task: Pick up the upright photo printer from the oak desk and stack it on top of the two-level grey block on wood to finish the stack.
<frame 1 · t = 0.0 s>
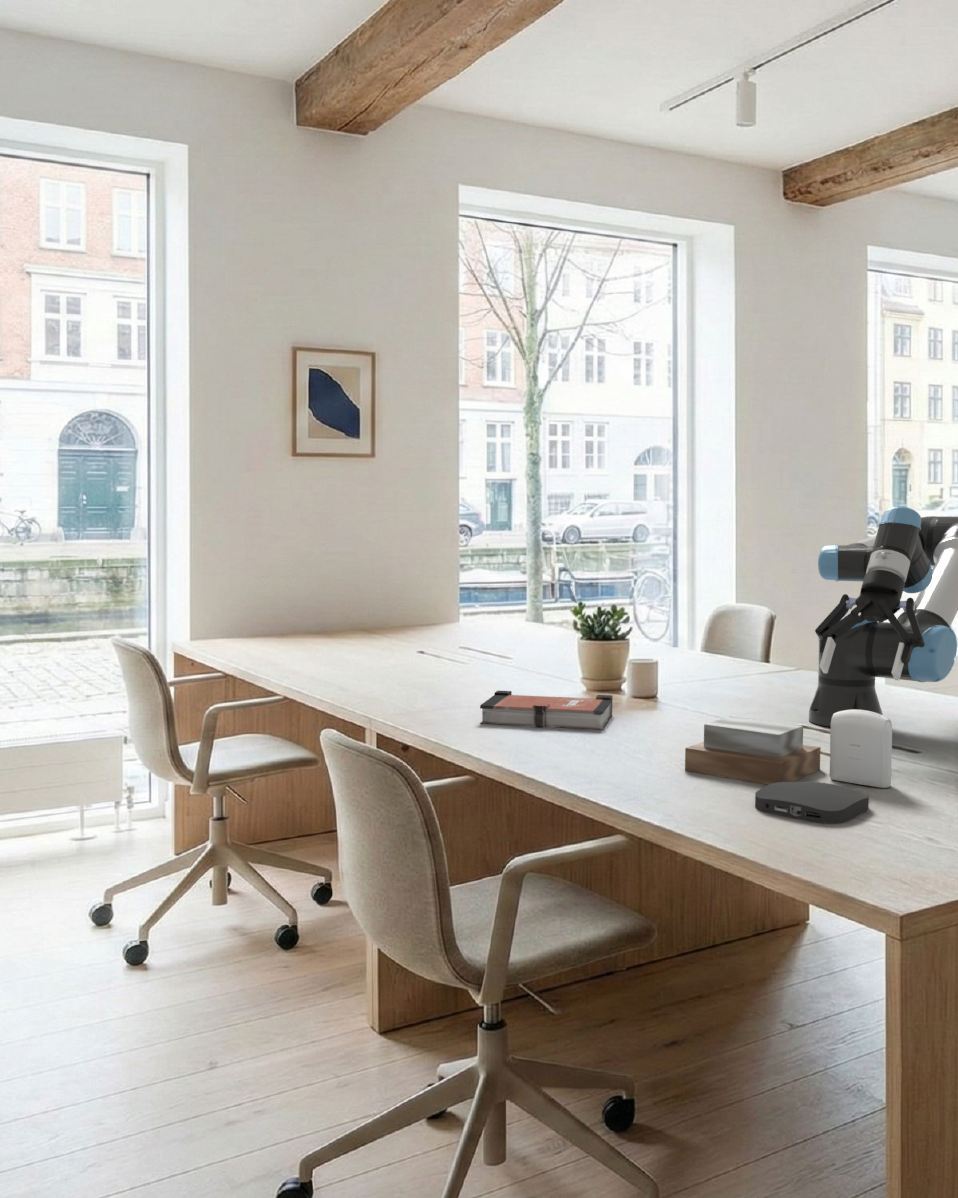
hand: (858, 673, 207), 15 cm above the table, tool tilted 35°, fingers open, 13 cm apart
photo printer: (859, 784, 187), on the table
media streaming box: (811, 811, 171), on the table
book: (547, 723, 242), on the table
grey block on wood: (752, 769, 196), on the table
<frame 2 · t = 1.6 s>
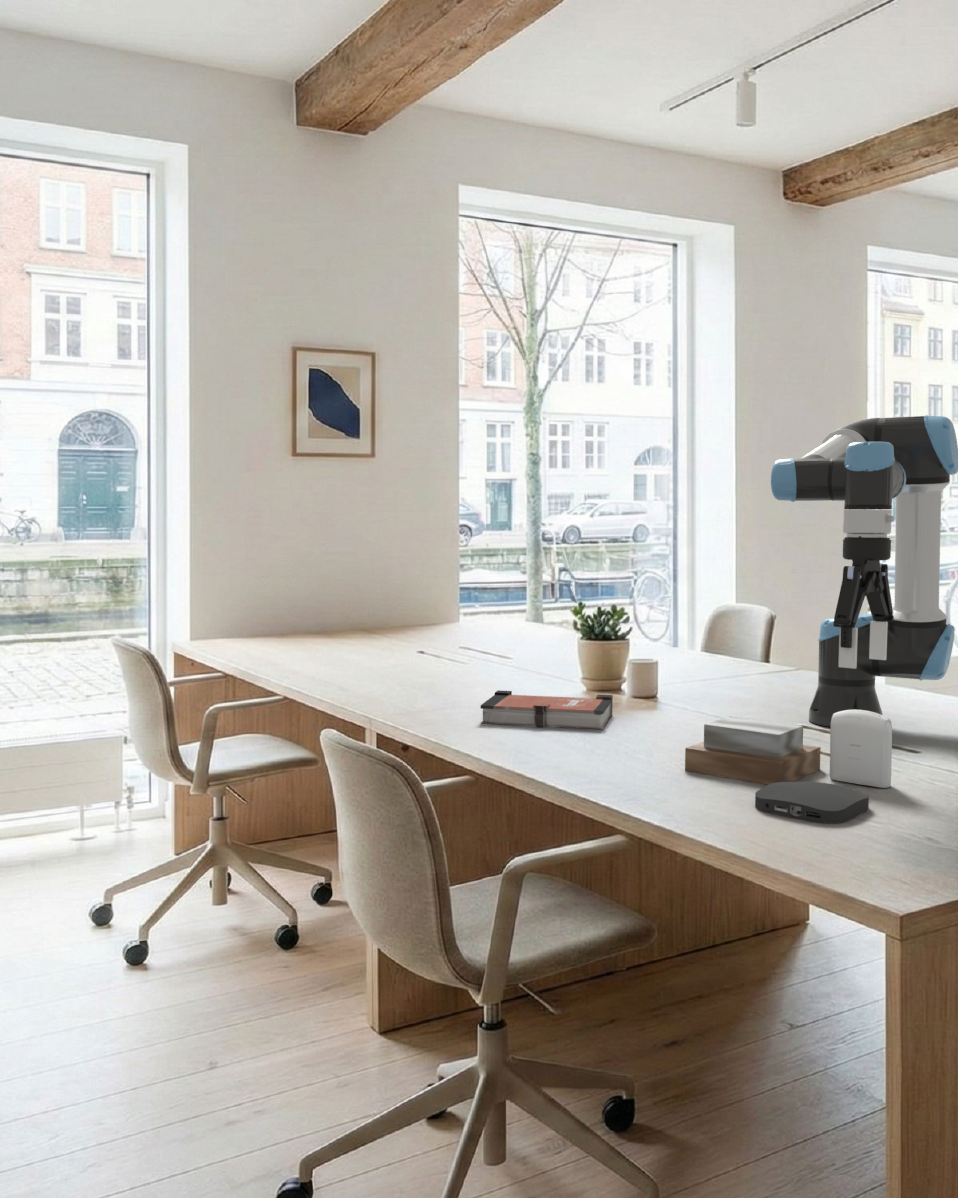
hand: (863, 663, 185), 20 cm above the table, tool pointing down, fingers open, 13 cm apart
nothing on the table moved.
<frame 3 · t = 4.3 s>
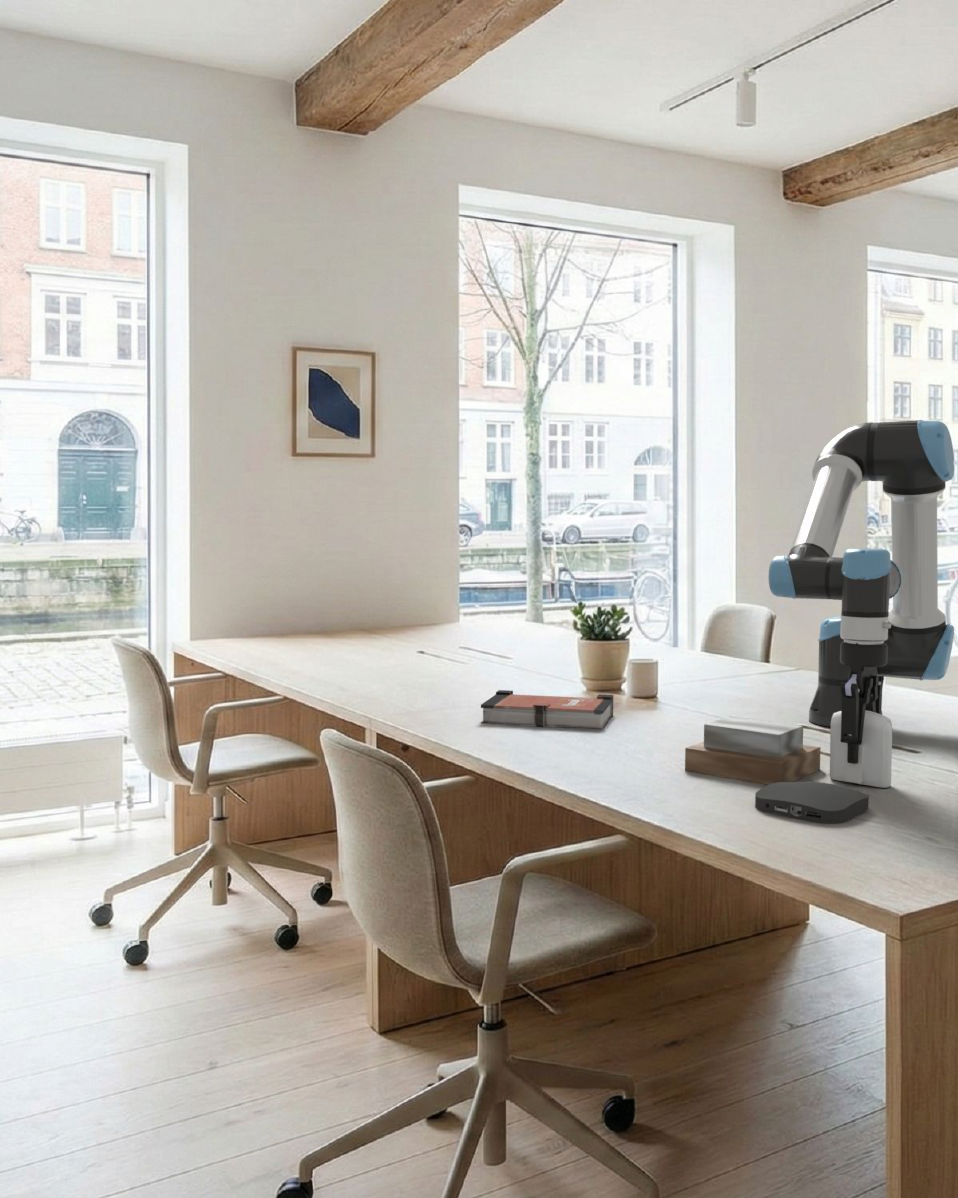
hand: (859, 778, 187), 1 cm above the table, tool pointing down, fingers closed on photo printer, 4 cm apart
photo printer: (859, 784, 187), on the table, touching gripper
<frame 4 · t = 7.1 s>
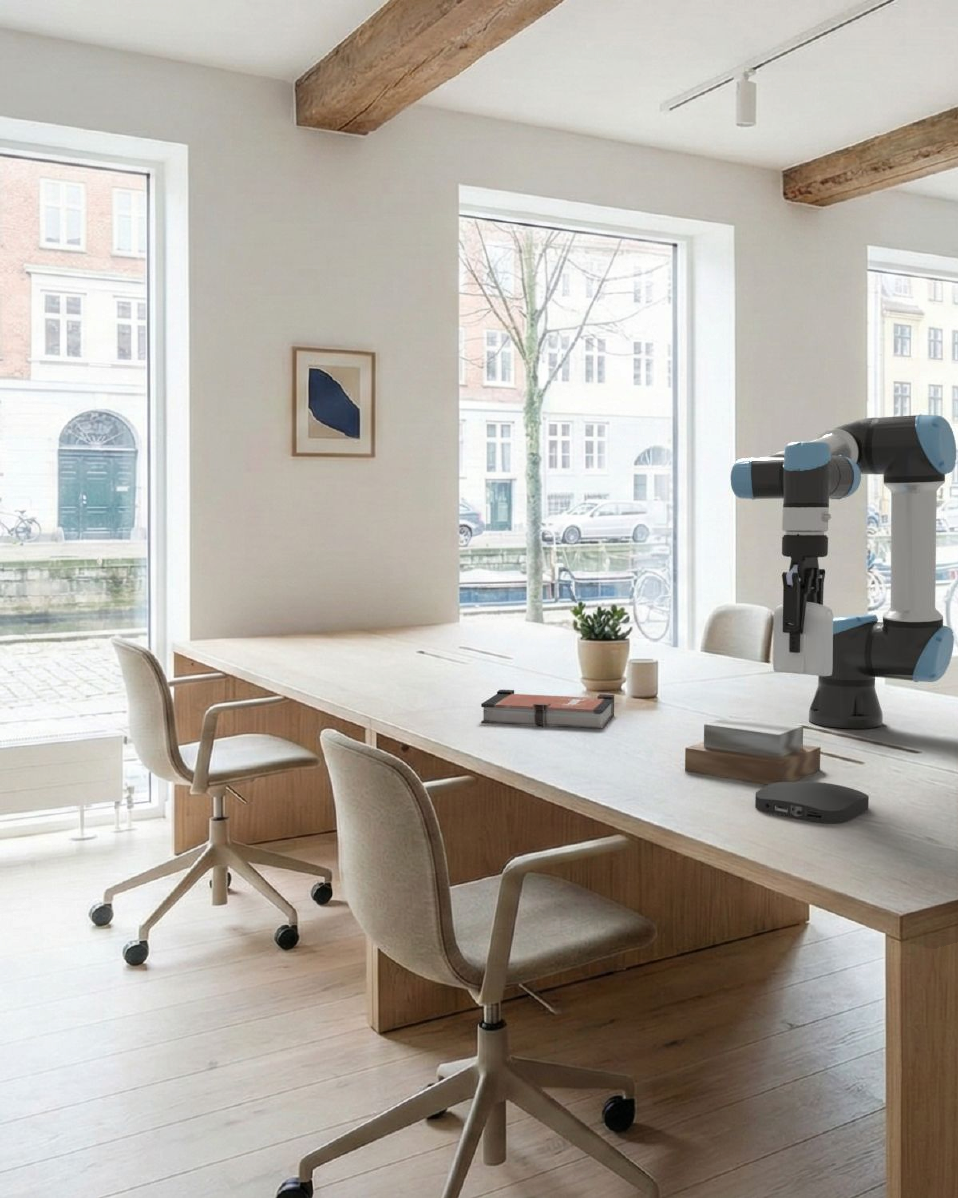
hand: (801, 669, 190), 19 cm above the table, tool pointing down, fingers closed on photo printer, 4 cm apart
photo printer: (802, 674, 190), point 18 cm above the table, touching gripper
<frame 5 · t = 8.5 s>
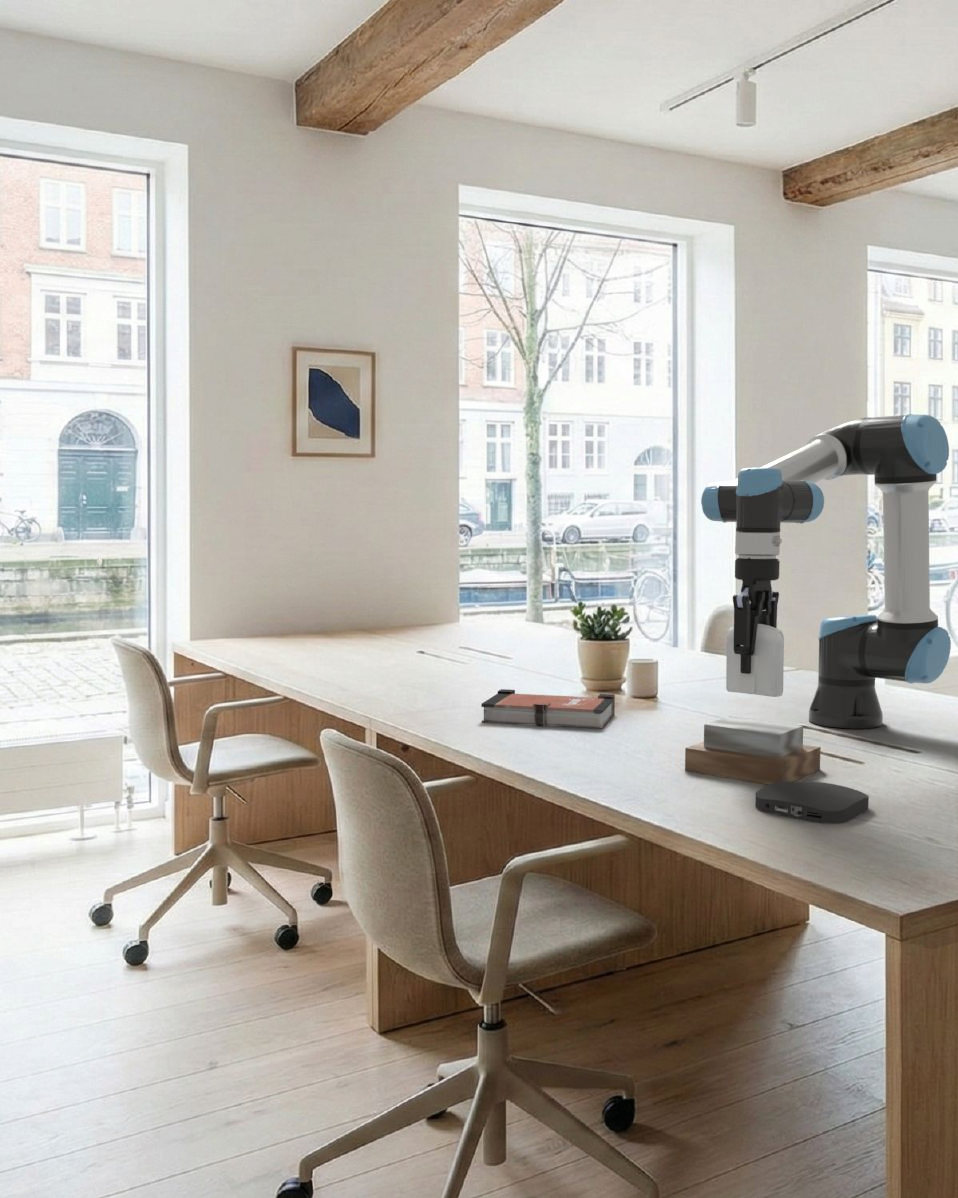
hand: (754, 689, 195), 14 cm above the table, tool pointing down, fingers closed on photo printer, 4 cm apart
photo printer: (754, 695, 195), point 13 cm above the table, touching gripper
when the fingers open (10 cm above the table, at t = 9.8 s): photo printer drops 1 cm, resting on grey block on wood.
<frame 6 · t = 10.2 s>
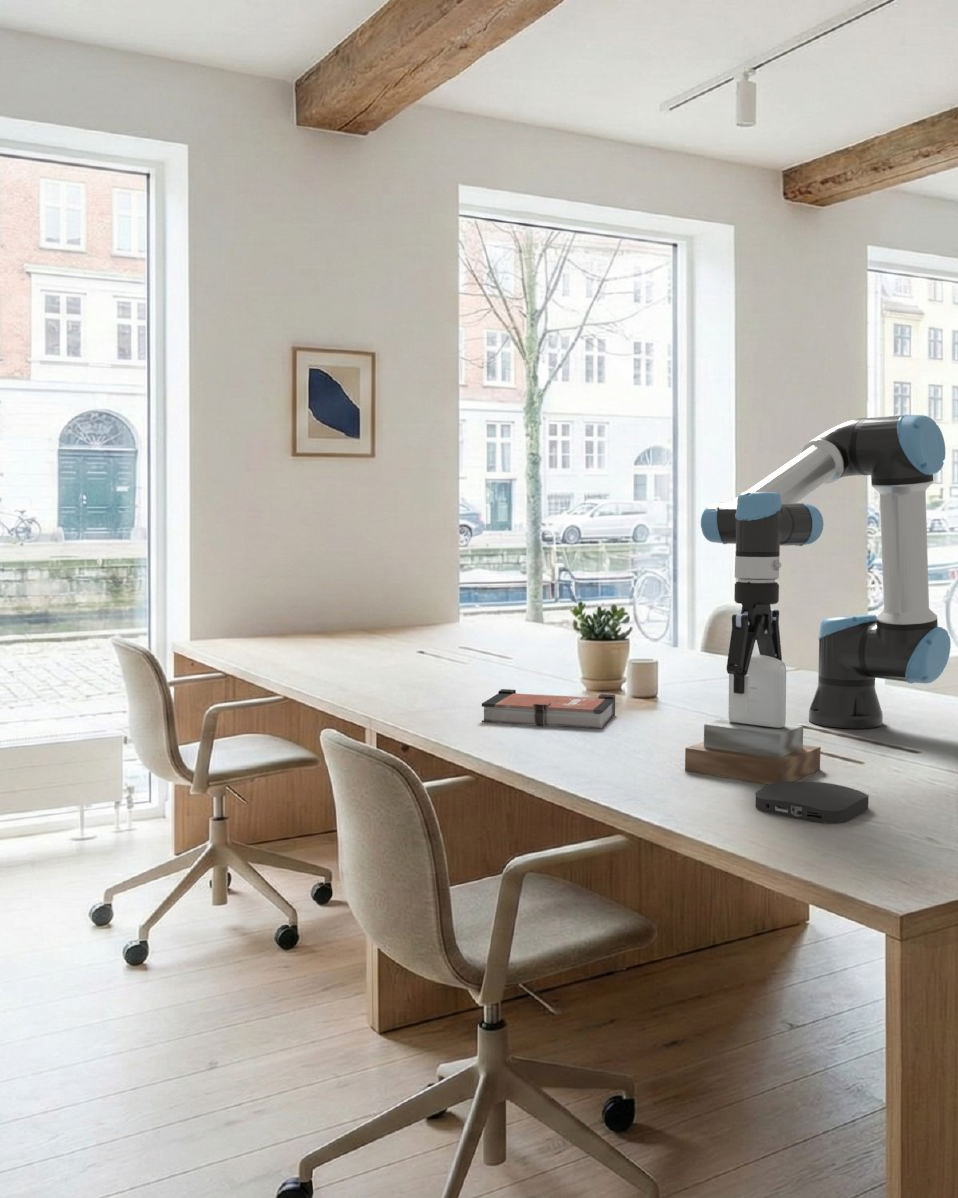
hand: (754, 707, 195), 11 cm above the table, tool pointing down, fingers open, 9 cm apart
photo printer: (756, 725, 196), point 8 cm above the table, touching grey block on wood
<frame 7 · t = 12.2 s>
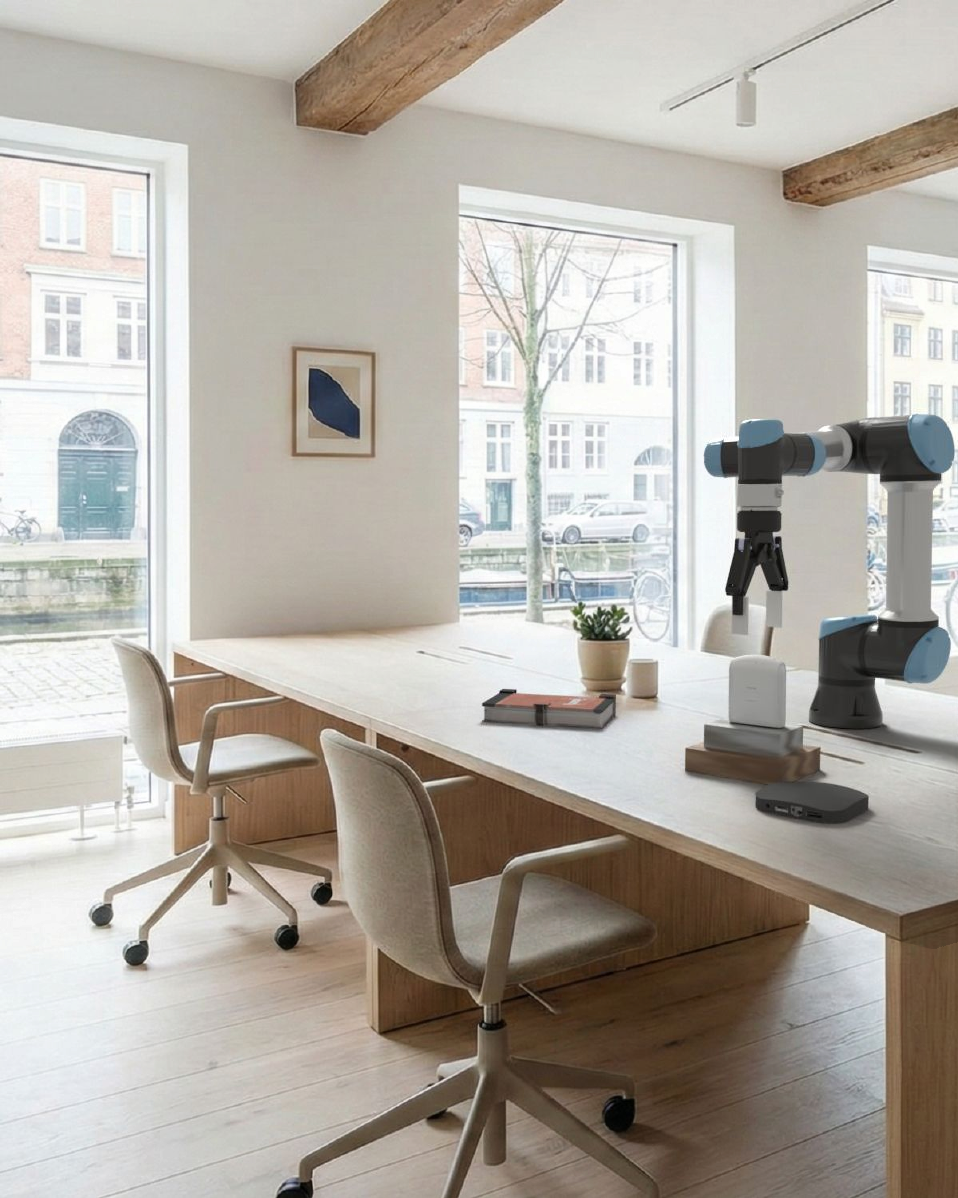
hand: (757, 630, 195), 25 cm above the table, tool pointing down, fingers open, 13 cm apart
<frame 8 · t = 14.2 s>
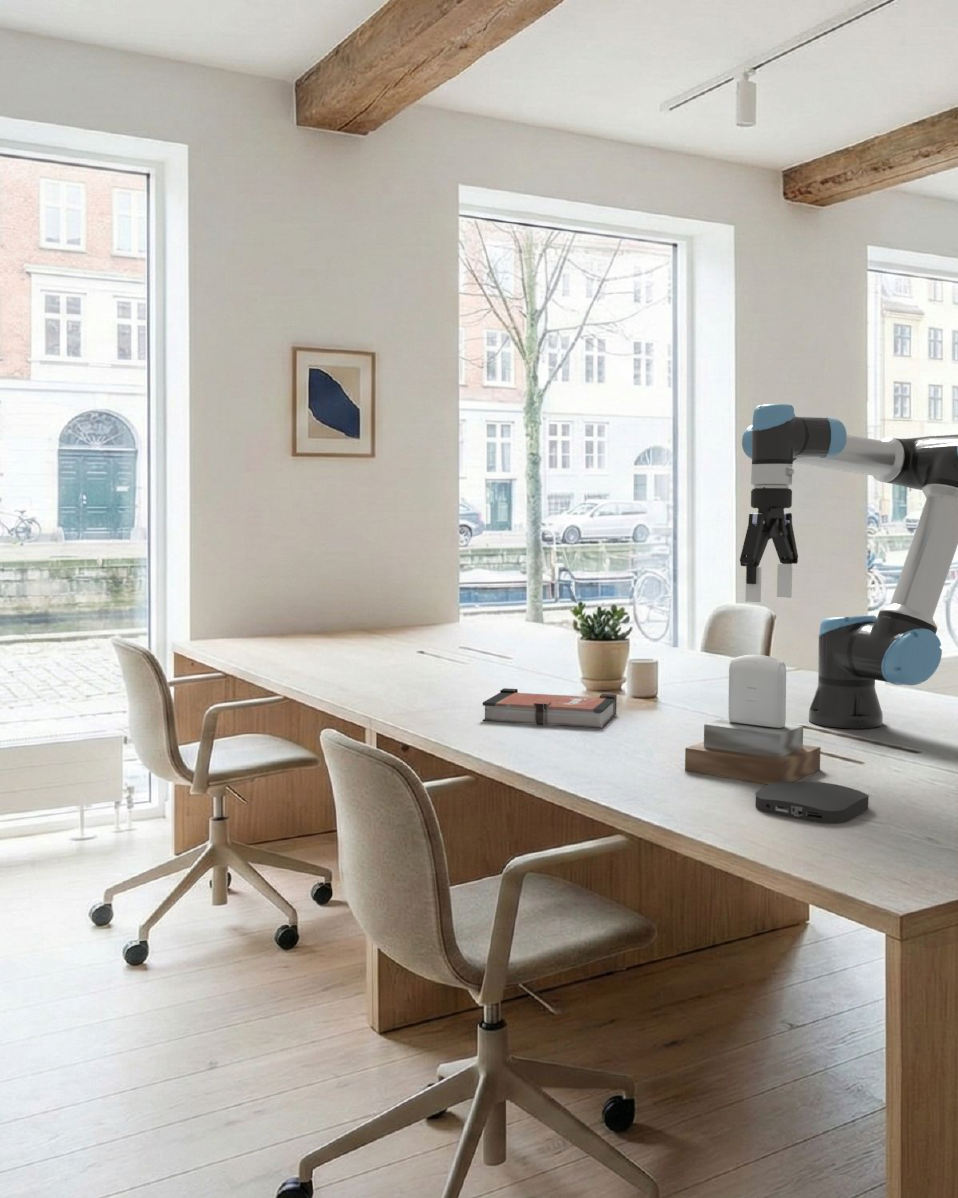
hand: (768, 599, 211), 29 cm above the table, tool pointing down, fingers open, 13 cm apart
at the end: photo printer 0.8 cm off-centre on the grey block on wood, point 7.8 cm above the grey block on wood's base; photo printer tilted 0°; the gripper is holding nothing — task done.
